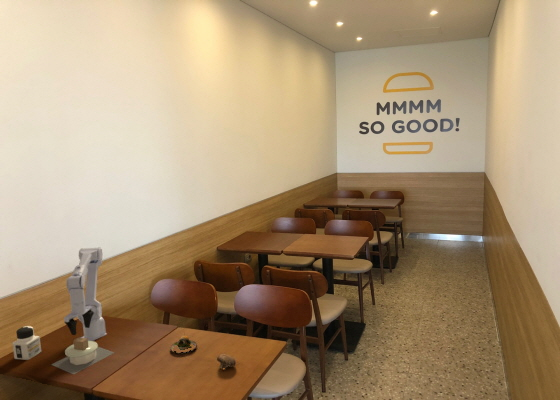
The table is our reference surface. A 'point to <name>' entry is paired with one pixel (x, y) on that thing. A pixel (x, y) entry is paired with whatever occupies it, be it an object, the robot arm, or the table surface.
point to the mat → (73, 368)
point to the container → (26, 344)
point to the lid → (81, 348)
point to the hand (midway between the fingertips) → (80, 331)
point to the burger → (184, 344)
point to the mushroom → (226, 361)
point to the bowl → (83, 359)
